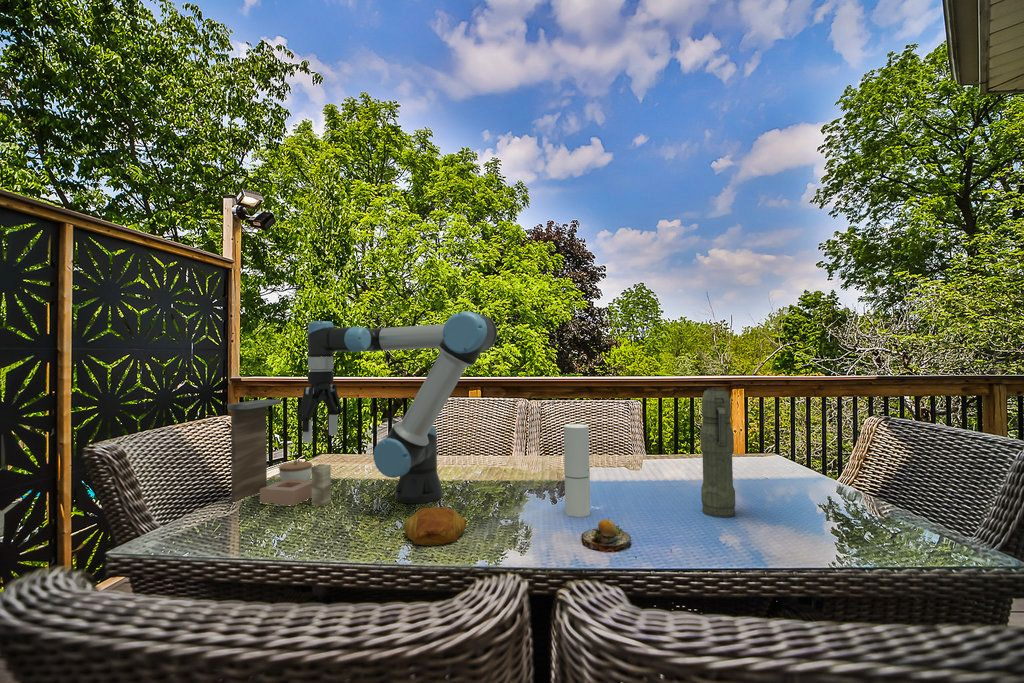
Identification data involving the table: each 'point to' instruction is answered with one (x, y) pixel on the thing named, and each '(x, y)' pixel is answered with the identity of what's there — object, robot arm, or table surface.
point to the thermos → (717, 454)
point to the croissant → (434, 526)
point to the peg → (321, 484)
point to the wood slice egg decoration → (606, 537)
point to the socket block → (286, 492)
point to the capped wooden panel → (248, 447)
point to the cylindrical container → (577, 470)
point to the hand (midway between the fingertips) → (320, 438)
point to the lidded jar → (296, 471)
